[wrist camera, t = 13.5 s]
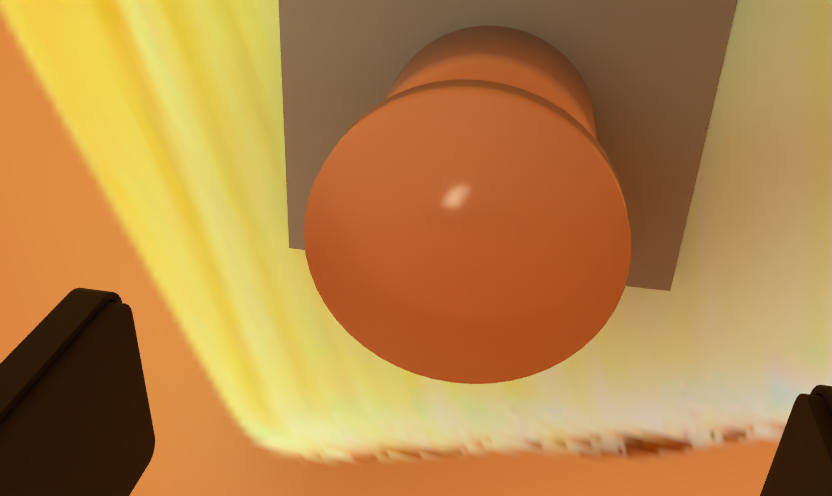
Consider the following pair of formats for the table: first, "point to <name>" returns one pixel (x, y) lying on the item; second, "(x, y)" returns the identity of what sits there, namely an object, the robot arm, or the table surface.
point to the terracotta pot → (472, 214)
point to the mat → (571, 35)
